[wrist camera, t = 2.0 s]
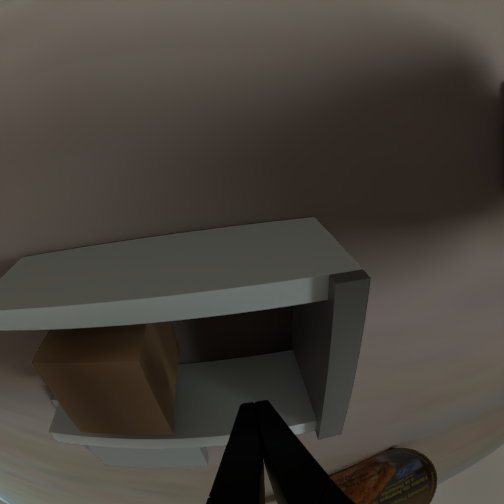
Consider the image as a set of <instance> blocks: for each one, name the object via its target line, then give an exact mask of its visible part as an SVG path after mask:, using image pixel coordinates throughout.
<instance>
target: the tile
mask: <svg viewBox="0 0 504 504" xmlns="http://www.w3.org/2000/svg"><path fill="white" fill-rule="evenodd" d="M51 401H52V403H53V404H54V405H55V407H56V408H57V406H58V404H59V403H58V401H57V400H56V398H55V397H54V396H53V395H52V397H51ZM87 447H88V448H89V449H90V450H91V451H92V452H93V453H94V455H95V456H96V457H97V458H98V459H99V460H100V461H101V462H102V463H103V464H104V465H111V466H125V467H147V468H183V467H206V466H208V452H207V450H206V448H205V447H190V448H120V447H104V446H92V445H87Z"/></svg>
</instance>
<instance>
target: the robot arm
mask: <svg viewBox="0 0 504 504" xmlns="http://www.w3.org/2000/svg"><path fill="white" fill-rule="evenodd" d="M263 459H264V462H263ZM264 464H265V467H266V471H267V474H268V477H269V480H270V483H271V486H272V489H273V492H274V494H275V497H276V500H277V503H278V504H356V503H354V502H353V501H352V500H351V499H350V498H349V497H348V496H347V495H346V494H345V493H344V492H343V491H342V490H341V489H340V488H339V487H338V485H337V484H336V483H335V482H334V481H333V480H332V479H330V476H329V475H328V474H327V473H326V472H325V470H324V469H323V468H322V467H321V466H320V465H319V463H318V462H317V461H316V460H315V459H314V457H313V456H312V455H311V454H310V452H309V451H308V450H307V449H306V448H305V446H304V445H303V444H302V443H301V441H300V440H299V439H298V438H297V436H296V435H295V434H294V433H293V431H292V430H291V429H290V428H289V426H288V425H287V424H286V422H285V421H284V420H283V419H282V417H281V416H280V415H279V413H278V412H277V411H276V410H275V408H274V407H273V406H272V404H271V403H270V402H269V401H268V400H262V401H256V402H255V404H254V403H253V402H248V403H242V404H241V405H240V407H239V410H238V413H237V416H236V419H235V422H234V425H233V428H232V431H231V434H230V437H229V440H228V443H227V446H226V449H225V452H224V454H223V457H222V460H221V463H220V466H219V469H218V472H217V475H216V478H215V480H214V483H213V486H212V489H211V492H210V494H209V497H210V498H208V500H207V502H206V504H265V485H264Z"/></svg>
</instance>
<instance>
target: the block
mask: <svg viewBox="0 0 504 504" xmlns="http://www.w3.org/2000/svg"><path fill="white" fill-rule="evenodd" d="M178 354H179V348H178V344H177V341H176V337H175V334H174V331H173V327H172V324H171V321H166V322H156V323H145V324H133V325H120V326H106V327H91V328H73V329H50V330H49V332H48V334H47V336H46V337H45V339H44V341H43V343H42V344H41V346H40V348H39V350H38V352H37V354H36V355H35V357H34V359H33V361H32V363H33V365H34V366H35V368H36V370H37V371H38V373H39V374H40V376H41V377H42V379H43V381H44V382H45V384H46V385H47V387H48V388H49V390H50V391H51V393H52V394H53V396H54V397H55V398H56V400H57V401H58V403H59V404H60V405H61V407H62V408H63V410H64V411H65V412H66V414H67V415H68V416H69V418H70V419H71V420H72V421H73V423H74V424H75V425H76V427H77V428H78V429H79V430H80V432H87V433H101V434H123V435H168V434H173V431H174V411H175V394H176V379H177V366H178Z"/></svg>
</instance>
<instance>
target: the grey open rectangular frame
mask: <svg viewBox="0 0 504 504" xmlns="http://www.w3.org/2000/svg"><path fill="white" fill-rule="evenodd" d="M369 287H370V277H369V276H368V275H367V274H366V272H365V271H364V270H363V269H362V268H361V267H360V266H359V265H358V263H357V262H356V261H355V260H354V259H353V258H352V257H351V256H350V255H349V253H348V252H347V251H346V250H345V249H344V248H343V247H342V246H341V245H340V244H339V243H338V241H337V240H336V239H335V238H334V237H333V236H332V235H331V234H330V233H329V232H328V231H327V230H326V229H325V228H324V227H323V225H322V224H321V223H320V222H319V221H318V220H317V219H316V218H315V217H309V218H300V219H291V220H282V221H273V222H264V223H256V224H247V225H239V226H231V227H223V228H215V229H207V230H199V231H191V232H184V233H176V234H169V235H162V236H155V237H148V238H141V239H134V240H127V241H120V242H113V243H107V244H100V245H93V246H87V247H81V248H74V249H68V250H62V251H56V252H50V253H44V254H38V255H32V256H26V257H22V258H21V259H20V260H19V261H18V262H17V263H15V264H14V265H13V266H12V267H11V268H10V269H9V270H8V271H7V272H6V273H5V274H4V275H3V276H2V277H1V278H0V331H12V330H50V329H73V328H91V327H106V326H120V325H133V324H145V323H156V322H166V321H176V320H186V319H195V318H204V317H212V316H221V315H229V314H236V313H244V312H251V311H259V310H266V309H273V308H279V307H286V306H292V313H293V350H289V351H283V352H277V353H271V354H264V355H257V356H250V357H243V358H235V359H227V360H219V361H210V362H200V363H189V364H178V366H177V379H176V394H175V411H174V431H173V434H168V435H123V434H101V433H87V432H80V430H79V429H78V428H77V427H76V425H75V424H74V423H73V421H72V420H71V419H70V418H69V416H68V415H67V414H66V412H65V411H64V410H63V408H62V407H61V405H60V404H58V406H57V409H56V412H55V415H54V418H53V421H52V424H51V427H50V430H49V433H50V434H51V435H52V436H53V437H54V439H55V440H56V441H59V442H66V443H73V444H82V445H92V446H104V447H120V448H190V447H207V446H219V445H227V443H228V440H229V437H230V434H231V431H232V428H233V425H234V422H235V419H236V416H237V413H238V410H239V407H240V405H241V404H242V403H248V402H253V403H254V404H255V402H256V401H262V400H268V401H269V402H270V403H271V404H272V406H273V407H274V408H275V410H276V411H277V412H278V413H279V415H280V416H281V417H282V419H283V420H284V421H285V422H286V424H287V425H288V426H289V428H290V429H291V430H292V431H293V433H294V434H295V435H296V434H301V433H306V432H311V431H316V434H317V437H318V440H319V439H323V438H328V437H332V436H336V435H339V434H341V433H342V429H343V425H344V422H345V418H346V414H347V409H348V405H349V401H350V397H351V392H352V388H353V383H354V378H355V373H356V368H357V363H358V358H359V353H360V347H361V341H362V335H363V329H364V323H365V316H366V309H367V302H368V295H369Z"/></svg>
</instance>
